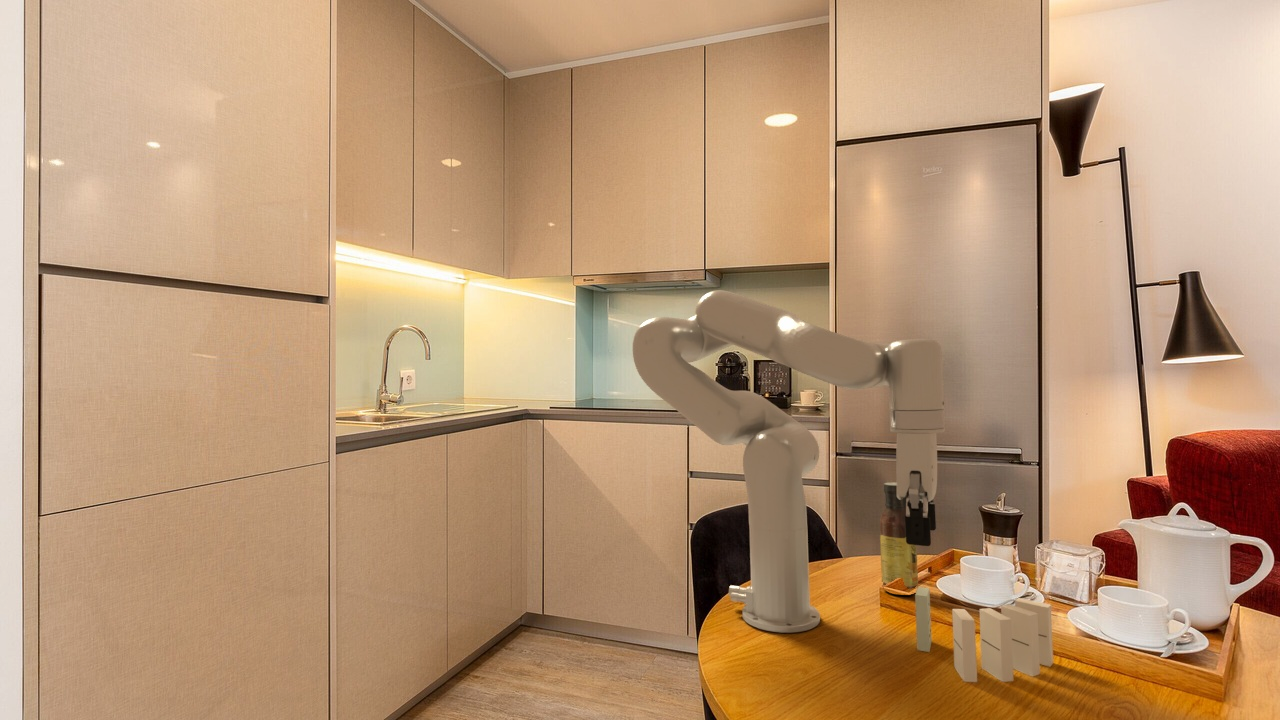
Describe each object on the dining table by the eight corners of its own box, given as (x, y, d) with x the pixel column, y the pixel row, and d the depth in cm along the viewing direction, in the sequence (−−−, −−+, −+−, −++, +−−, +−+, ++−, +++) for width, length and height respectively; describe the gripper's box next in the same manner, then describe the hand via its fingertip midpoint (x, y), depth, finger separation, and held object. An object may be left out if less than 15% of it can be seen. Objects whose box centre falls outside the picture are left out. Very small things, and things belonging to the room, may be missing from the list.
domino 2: (1002, 681, 82) (999, 620, 82) (981, 668, 86) (979, 608, 86) (1014, 680, 82) (1011, 619, 82) (992, 666, 86) (990, 608, 86)
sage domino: (917, 650, 92) (914, 594, 92) (919, 639, 95) (917, 586, 96) (930, 652, 91) (927, 596, 91) (932, 641, 94) (930, 588, 95)
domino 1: (963, 681, 82) (961, 619, 82) (954, 667, 86) (952, 608, 86) (978, 682, 82) (975, 620, 82) (967, 668, 86) (965, 609, 86)
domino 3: (1032, 676, 83) (1029, 615, 83) (1003, 664, 87) (1001, 606, 87) (1040, 673, 84) (1037, 613, 84) (1011, 661, 87) (1008, 603, 88)
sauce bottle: (922, 598, 112) (918, 487, 113) (885, 596, 114) (881, 486, 114) (913, 586, 119) (910, 481, 119) (879, 585, 120) (875, 480, 121)
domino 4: (1050, 666, 86) (1047, 607, 86) (1017, 658, 88) (1014, 600, 89) (1053, 662, 87) (1051, 604, 87) (1020, 654, 90) (1018, 597, 90)
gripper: (897, 417, 103) (901, 522, 103) (881, 426, 88) (886, 548, 88) (947, 417, 100) (952, 526, 99) (940, 426, 85) (946, 554, 84)
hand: (921, 536), depth 94 cm, fingers open, 9 cm apart
